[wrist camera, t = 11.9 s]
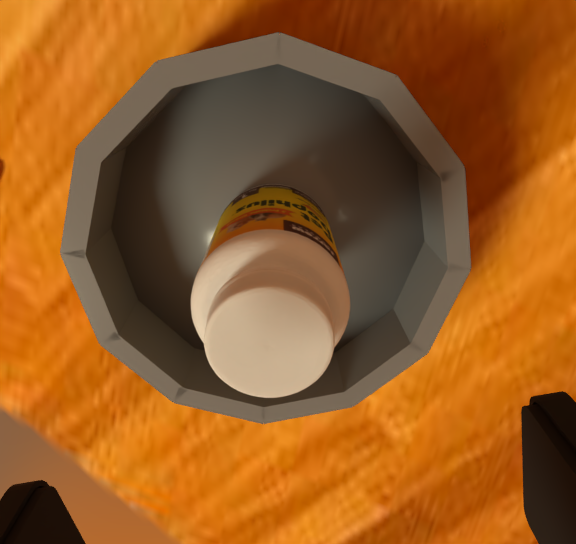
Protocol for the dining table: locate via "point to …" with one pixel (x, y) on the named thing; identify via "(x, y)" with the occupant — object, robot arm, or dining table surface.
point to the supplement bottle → (270, 293)
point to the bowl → (254, 172)
